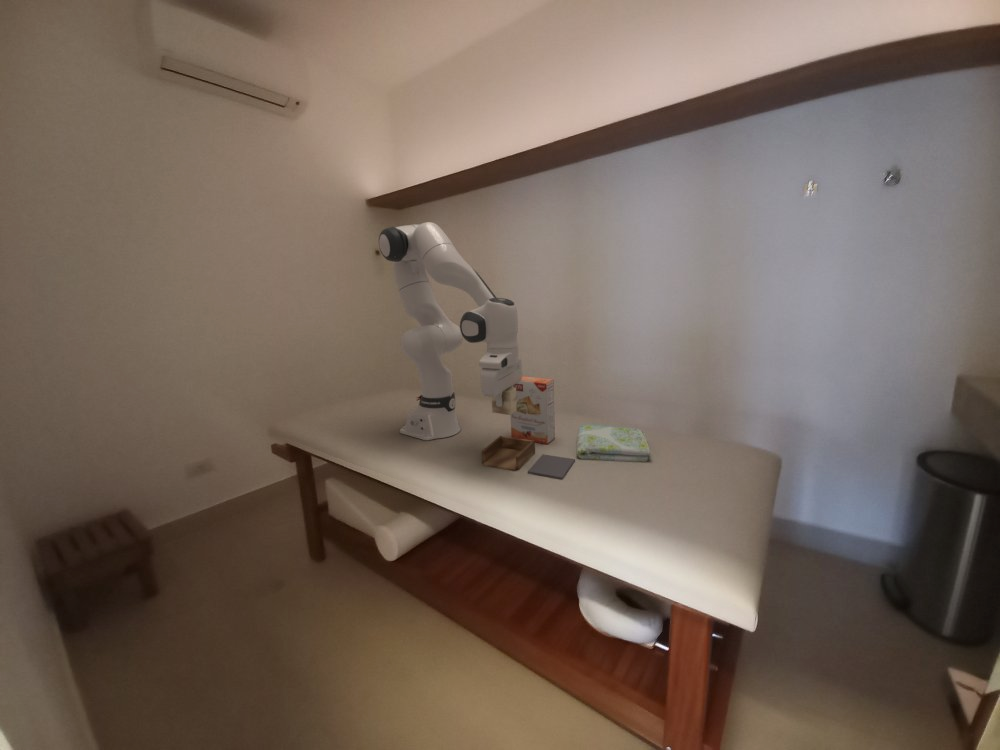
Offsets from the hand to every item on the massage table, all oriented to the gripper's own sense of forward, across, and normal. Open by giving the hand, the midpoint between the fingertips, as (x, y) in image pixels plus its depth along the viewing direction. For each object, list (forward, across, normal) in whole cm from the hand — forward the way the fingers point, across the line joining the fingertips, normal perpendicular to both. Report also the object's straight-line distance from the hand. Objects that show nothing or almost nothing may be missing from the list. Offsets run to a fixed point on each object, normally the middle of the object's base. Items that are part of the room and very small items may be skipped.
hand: (504, 403), depth 116 cm
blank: (+3, 0, 0) cm, 3 cm away
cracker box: (+18, -18, +2) cm, 25 cm away
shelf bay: (+18, 0, +1) cm, 18 cm away
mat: (+17, 0, +15) cm, 23 cm away
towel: (+18, -18, +28) cm, 38 cm away
